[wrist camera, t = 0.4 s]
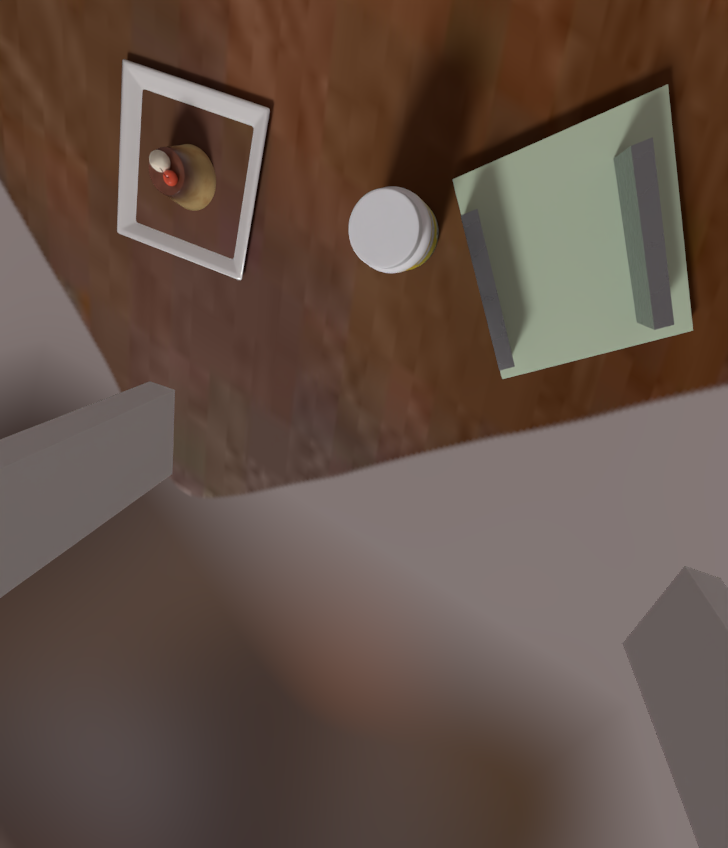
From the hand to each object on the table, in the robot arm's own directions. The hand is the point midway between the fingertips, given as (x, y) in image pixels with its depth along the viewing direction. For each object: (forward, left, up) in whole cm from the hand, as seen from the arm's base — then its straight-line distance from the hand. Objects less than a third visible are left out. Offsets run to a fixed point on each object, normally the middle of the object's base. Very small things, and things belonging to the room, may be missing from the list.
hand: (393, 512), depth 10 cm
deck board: (-3, +9, -24) cm, 25 cm away
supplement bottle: (-8, -1, -24) cm, 25 cm away
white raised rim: (-18, -16, -24) cm, 34 cm away
